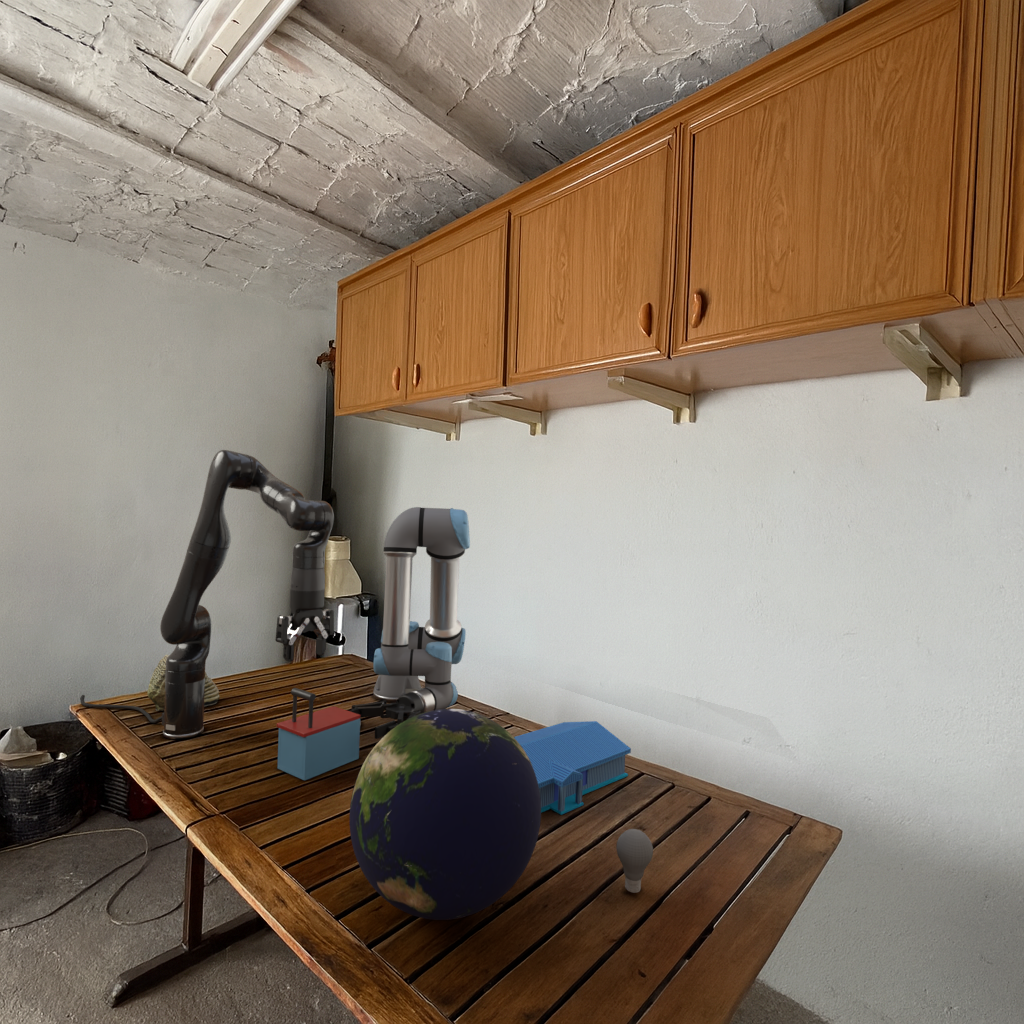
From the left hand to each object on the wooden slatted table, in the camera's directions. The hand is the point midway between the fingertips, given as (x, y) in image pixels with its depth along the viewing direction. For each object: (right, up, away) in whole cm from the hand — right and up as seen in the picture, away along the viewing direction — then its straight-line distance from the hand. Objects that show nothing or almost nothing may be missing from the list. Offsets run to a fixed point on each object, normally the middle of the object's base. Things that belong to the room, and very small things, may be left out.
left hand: (304, 657), depth 145 cm
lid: (+2, -16, +4) cm, 17 cm away
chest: (+2, -26, +5) cm, 27 cm away
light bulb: (+68, -30, -40) cm, 84 cm away
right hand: (+9, -20, +12) cm, 25 cm away
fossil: (-48, -23, +40) cm, 67 cm away
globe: (+37, -29, -45) cm, 64 cm away
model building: (+55, -29, -1) cm, 62 cm away
